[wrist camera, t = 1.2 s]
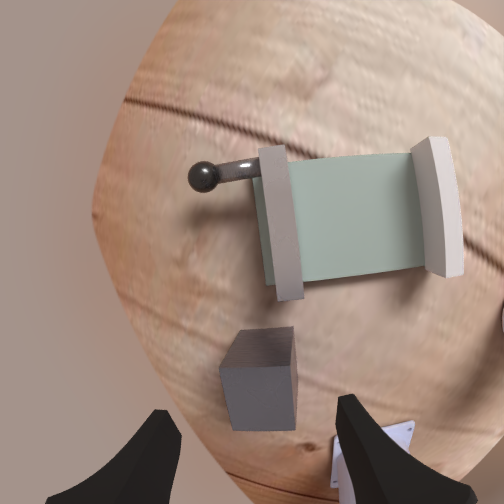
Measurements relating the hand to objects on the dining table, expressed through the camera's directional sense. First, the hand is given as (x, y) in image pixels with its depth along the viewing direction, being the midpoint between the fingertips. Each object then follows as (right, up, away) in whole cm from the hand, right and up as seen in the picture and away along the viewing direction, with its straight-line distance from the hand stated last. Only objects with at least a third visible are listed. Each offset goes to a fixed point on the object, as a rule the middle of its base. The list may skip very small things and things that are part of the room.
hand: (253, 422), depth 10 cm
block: (+1, -1, +10) cm, 10 cm away
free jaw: (0, +9, +8) cm, 12 cm away
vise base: (+7, +10, +8) cm, 14 cm away
